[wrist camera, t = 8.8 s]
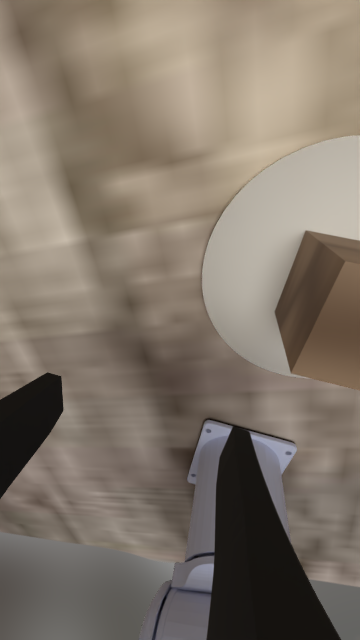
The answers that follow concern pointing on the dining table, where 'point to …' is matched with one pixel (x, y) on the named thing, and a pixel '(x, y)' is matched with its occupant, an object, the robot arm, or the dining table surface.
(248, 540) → the robot arm
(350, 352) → the walnut block
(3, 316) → the dining table surface
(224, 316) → the cream plate
